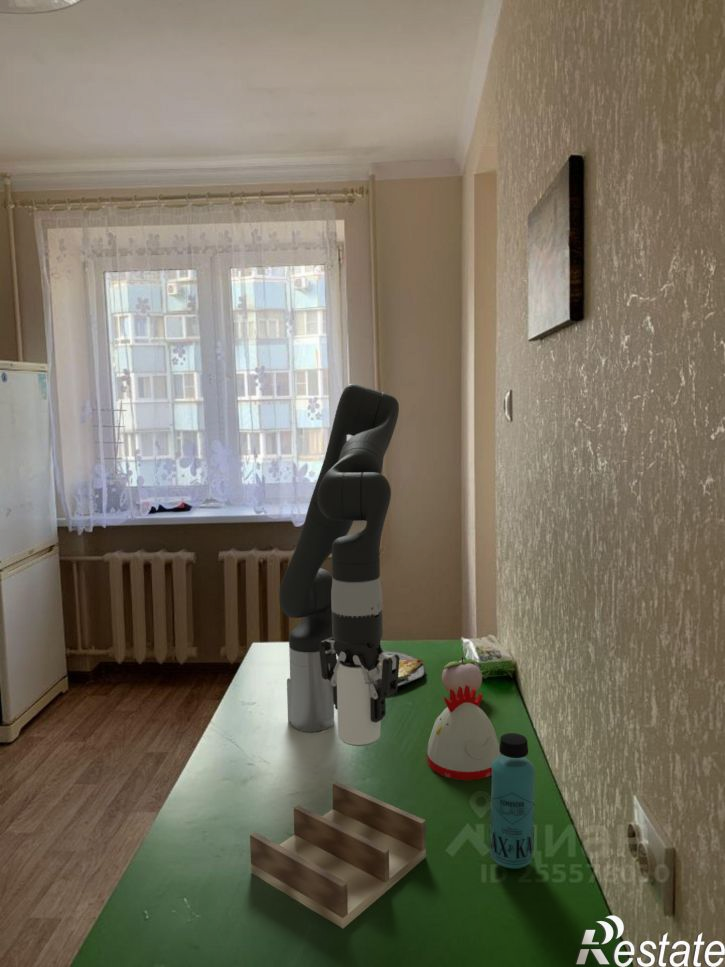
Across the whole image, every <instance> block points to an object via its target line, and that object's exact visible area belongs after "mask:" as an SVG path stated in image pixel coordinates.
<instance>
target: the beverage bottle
mask: <svg viewBox="0 0 725 967" xmlns="http://www.w3.org/2000/svg"><path fill="white" fill-rule="evenodd" d="M499 739H500V741H499V751H500V756H499V757H498V758H496V759H495V760H494V761H493V763H492V775H491V787H490V788H491V792H490V794H491V795H490V800H489V802H490V809H489V814H490V815H489V818H490V820H489V827H488V833H489V835H488V836H489V841H488V846H489V848H488V851H489V853H490V856H491V859H492V860H493V861H494V862H495V863H496V864H498V865H499V866H502V867H504V868H507V869H521V868H525V867H526V866H528V865H529V864H530V863H531V861H532V859H533V856H534V854H533V853H535V852H534V849H535V848H534V846H535V845H534V843H535V839H534V838H535V826H534V825H535V819H536V817H535V816H536V814H535V812H534V811H535V806H536V804H535V775H536V774H535V773H536V768H535V766H534V764H533V763H532V762H531V761H530V760H529V759H528V758H527V756H528V754H529V745H528V744H529V743H528V738H527V737H525V736H524V735H523V734H520V733H517V732H516V733H515V732H510V733H505V734H502V735H501V737H500V738H499Z"/></svg>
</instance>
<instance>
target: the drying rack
mask: <svg viewBox="0 0 725 967" xmlns="http://www.w3.org/2000/svg"><path fill="white" fill-rule="evenodd" d="M331 785H332V787H331V788H332V791H331V792H332V809H331V810H329V811H328V812H326V813H325V814H323V815H320V814H317V813H315V812H314V811H311V810H310V809H307V808H305V807H303V806H302V805H300V804H297V805H296V806H294V807H293V827H294V828H293V835H292V836H290V837H288V838H287V839H285V840H284V841H282V842H281V843H280V844H279V843H276V842H275V841H273V840H271V839H269V838H267V837H266V836H263V835H262V834H260V833H258V832H256V831H253V833H251V834H250V835H249V847H250V872H251V874H252V875H254V876H255V877H257V878H259V879H261V880H262V881H264V882H266V883H267V884H268V885H270V886H272V887H274V888H275V889H276V890H278V891H281V892H282V893H284V894H285V895H287V896H289V897H290V898H292V899H293V900H295V901H297V902H298V903H300V904H301V905H304V906H305V907H306V908H308V909H310V910H311V911H313V912H315V913H317V914H318V915H320V916H321V917H323V918H325V919H326V920H328V921H329V922H331V923H333V924H334V925H336V926H338V927H339V928H341V929H345V928H346V927H347V926H348V925H349V924H350V923H352V922H353V921H355V919H356V918H357V917H358V916H359V915H361V914H362V913H363V912H365V910H366V909H368V908H369V907H370V906H371V905H372V904H373V903H375V902H376V901H377V900H378V899H380V897H381V896H383V895H385V893H386V892H388V890H390V889H391V888H392V887H393V886H394V885H395V884H396V883H398V882H399V881H401V879H403V878H404V877H405V876H406V875H407V874H408V873H409V872H410V871H412V870H413V869H414V868H415V867H416V866H417V865H419V864H420V863H421V862H423V860H425V859H426V857H427V856H426V855H427V854H426V851H427V850H426V849H427V847H426V845H427V844H426V843H427V842H426V841H427V840H426V839H427V838H426V836H427V835H426V832H427V831H426V828H427V827H426V822H427V821H426V820H425V819H424V818H421V817H419V816H417V815H415V814H412V813H410V812H408V811H405V810H403V809H401V808H399V807H396V806H394V805H392V804H390V803H387V802H385V801H383V800H380V799H378V798H376V797H373V796H371V795H369V794H367V793H365V792H362V791H360V790H357V789H356V788H353V787H351V786H349V785H346V784H344V783H342V782H340V781H338V780H337V781H334V782H333V783H331Z"/></svg>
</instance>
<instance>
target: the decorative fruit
mask: <svg viewBox="0 0 725 967" xmlns="http://www.w3.org/2000/svg"><path fill="white" fill-rule="evenodd" d="M478 665H479V666H481V664H480V663H479V661H477V660H475V659H473V658H472V659H471V658H466V659H464V656H461V660H459V661H457V660H454V661H453V660H452V661H450V662H448V663H447V664H445V665H444V667H443V671H442V674H441V681H442V684H443V687H444V689H445V690H446V691H447V692H448V693H449V694H450V689H452V690H453V691H454V693H455V696H456V697H457V693H458V688H459V686H460V687H462V690H463V695H464V690H465V685H467V686H469V689H470V693H471V691H472V689H475V690H476V693H477V692H478V691H479V690H480V687H481V686H482V682H483V674H482V671H481V669H480V668H479V666H478Z"/></svg>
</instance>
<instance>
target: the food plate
mask: <svg viewBox="0 0 725 967" xmlns="http://www.w3.org/2000/svg"><path fill="white" fill-rule="evenodd" d="M382 650H383V649H382ZM383 653H385V654H388V655H394V654H397V655H398V656H399V673H398V687H401V686H402V685H406V684H408V683H411V682H413V681H415V680H417V679H420V678H422V677H423V676H424V675H425V673H426V670H425V664H423V660H422V659H419V658H416V657H414V656H412V655H410V654H407V653H403V652H399V651H392V650H383ZM338 659H339V658H337V661H338ZM379 664H380V666H381V662H379Z"/></svg>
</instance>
